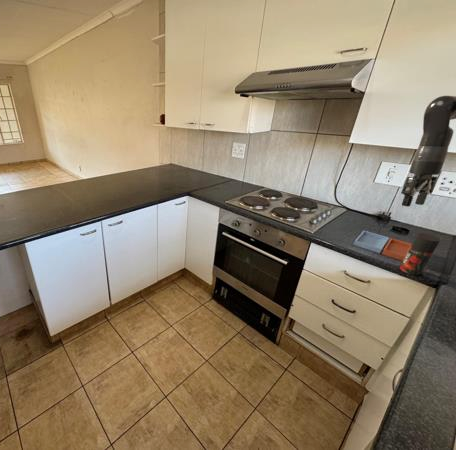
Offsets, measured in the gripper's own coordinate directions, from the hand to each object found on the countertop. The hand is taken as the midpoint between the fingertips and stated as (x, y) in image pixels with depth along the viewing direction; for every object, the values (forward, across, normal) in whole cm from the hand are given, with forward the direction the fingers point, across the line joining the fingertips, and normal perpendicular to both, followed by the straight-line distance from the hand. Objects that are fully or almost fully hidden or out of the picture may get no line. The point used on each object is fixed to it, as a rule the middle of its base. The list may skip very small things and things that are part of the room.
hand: (412, 205), depth 91 cm
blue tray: (+22, +11, +14) cm, 29 cm away
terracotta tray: (+23, +15, +5) cm, 28 cm away
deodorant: (+26, +3, -4) cm, 26 cm away
